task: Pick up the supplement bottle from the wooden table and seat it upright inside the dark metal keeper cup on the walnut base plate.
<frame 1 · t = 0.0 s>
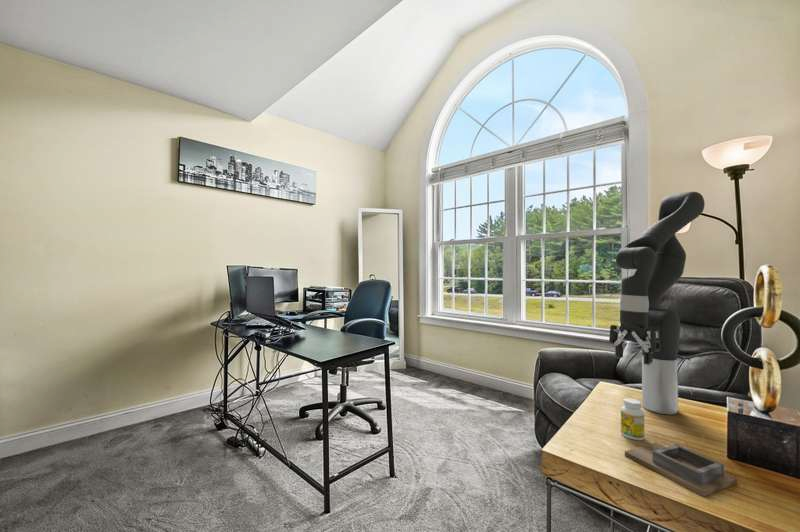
hand: (632, 360, 105), 17 cm above the table, tool pointing down, fingers open, 8 cm apart
supplement bottle: (632, 436, 92), on the table
keeper: (687, 473, 74), on the table
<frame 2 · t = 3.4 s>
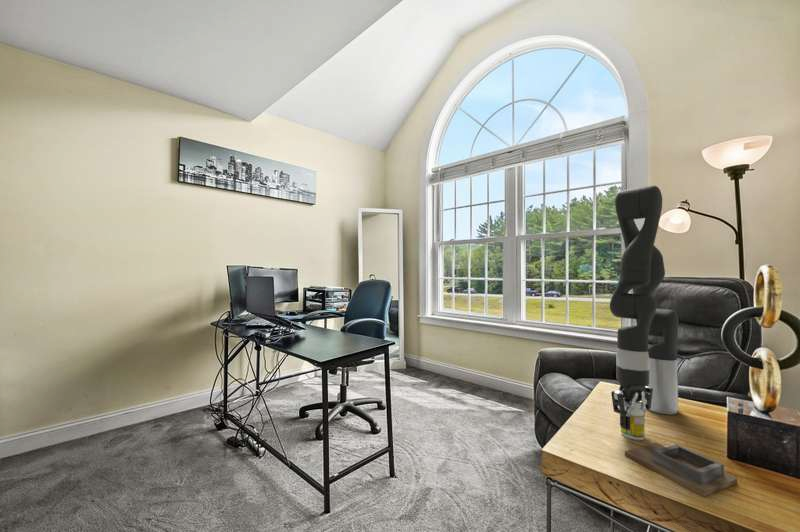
hand: (632, 426, 92), 2 cm above the table, tool pointing down, fingers closed on supplement bottle, 5 cm apart
supplement bottle: (632, 436, 92), on the table, touching gripper
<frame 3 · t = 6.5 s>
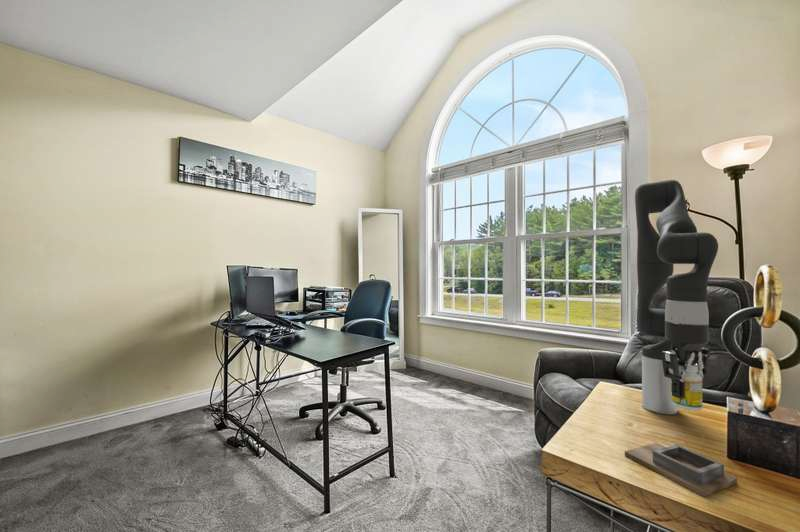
hand: (686, 395, 75), 17 cm above the table, tool pointing down, fingers closed on supplement bottle, 5 cm apart
supplement bottle: (686, 407, 75), point 15 cm above the table, touching gripper
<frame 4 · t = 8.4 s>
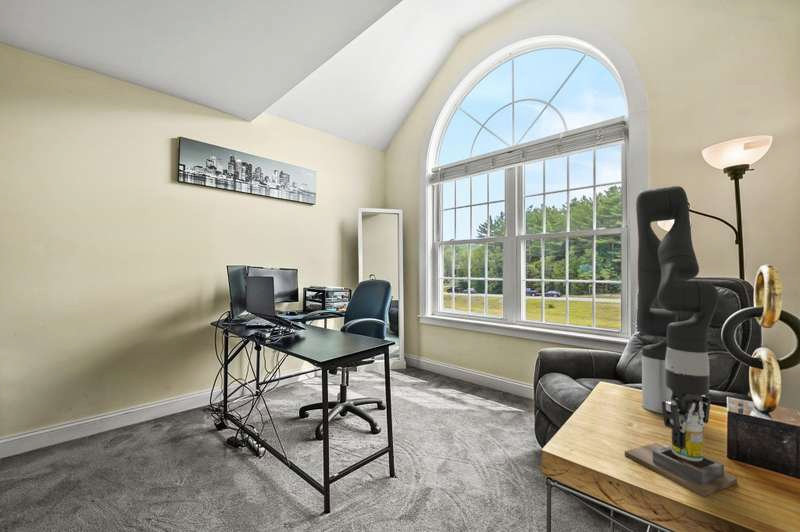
hand: (686, 444, 75), 6 cm above the table, tool pointing down, fingers closed on supplement bottle, 5 cm apart
supplement bottle: (686, 456, 75), point 4 cm above the table, touching gripper
when the fingers open (5 cm above the table, at t = 9.7 s): supplement bottle drops 1 cm, resting on keeper.
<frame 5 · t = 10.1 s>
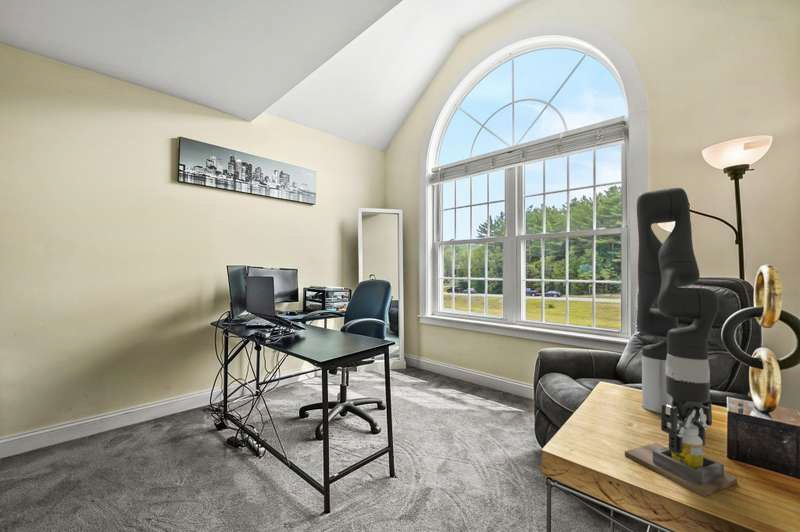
hand: (687, 448, 75), 6 cm above the table, tool pointing down, fingers open, 8 cm apart
supplement bottle: (687, 469, 75), point 1 cm above the table, touching keeper
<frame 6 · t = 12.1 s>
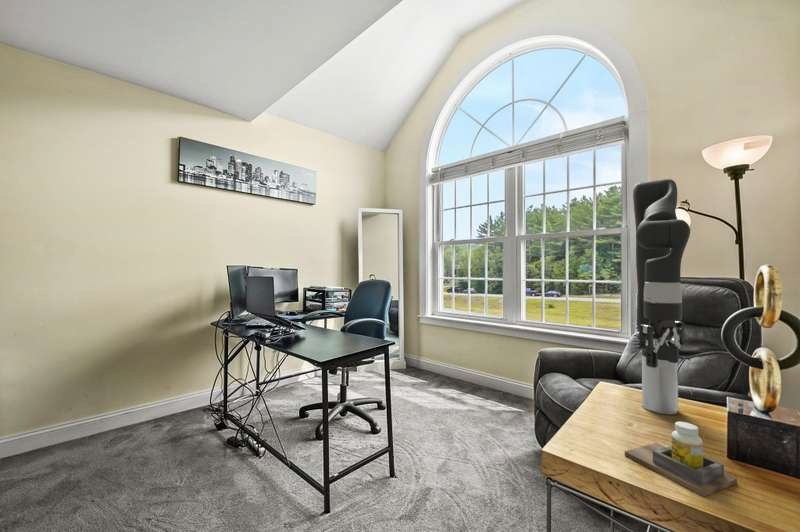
hand: (662, 364, 83), 22 cm above the table, tool pointing down, fingers open, 8 cm apart
nothing on the table moved.
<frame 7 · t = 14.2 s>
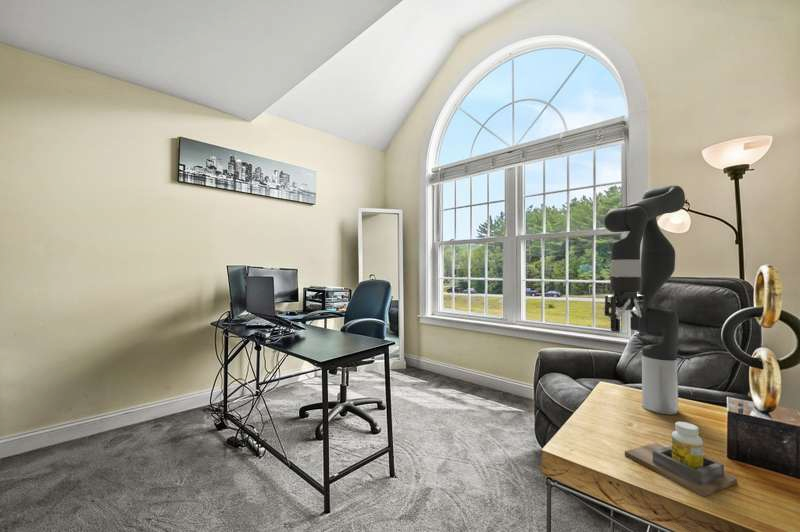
hand: (625, 330, 97), 28 cm above the table, tool pointing down, fingers open, 8 cm apart
nothing on the table moved.
at the end: supplement bottle 0.2 cm off-centre on the keeper, point 0.8 cm above the keeper's base; supplement bottle tilted 0°; the gripper is holding nothing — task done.
